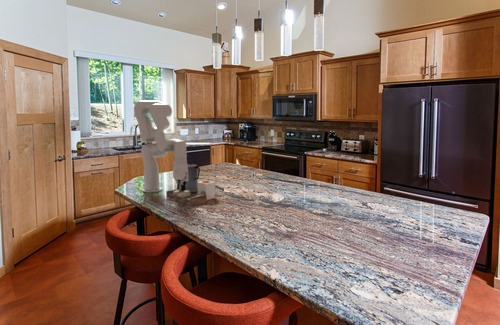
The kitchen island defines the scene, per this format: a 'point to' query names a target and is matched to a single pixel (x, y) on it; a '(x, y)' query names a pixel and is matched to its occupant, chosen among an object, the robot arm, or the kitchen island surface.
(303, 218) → the kitchen island surface
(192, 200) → the rail bed
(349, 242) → the kitchen island surface
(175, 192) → the square knob plate
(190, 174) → the moka pot
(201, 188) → the white knob block
